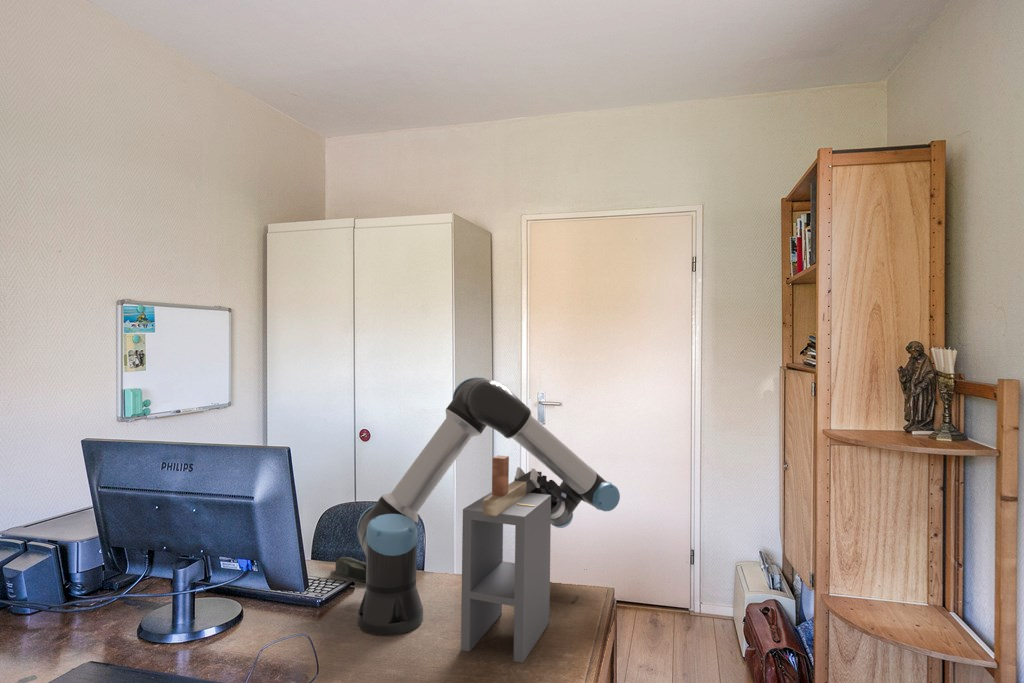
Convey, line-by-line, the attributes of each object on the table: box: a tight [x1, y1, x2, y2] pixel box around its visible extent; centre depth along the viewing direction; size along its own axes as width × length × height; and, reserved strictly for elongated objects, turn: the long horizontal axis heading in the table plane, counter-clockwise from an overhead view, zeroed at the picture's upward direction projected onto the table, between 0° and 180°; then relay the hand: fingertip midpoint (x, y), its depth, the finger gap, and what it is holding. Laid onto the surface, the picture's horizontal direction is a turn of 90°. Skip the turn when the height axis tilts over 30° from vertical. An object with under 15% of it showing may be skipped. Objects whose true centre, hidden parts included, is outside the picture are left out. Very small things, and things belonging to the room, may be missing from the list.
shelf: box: [460, 491, 552, 664], centre depth 133 cm, size 14×19×30 cm
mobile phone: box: [330, 556, 366, 584], centre depth 165 cm, size 5×3×15 cm
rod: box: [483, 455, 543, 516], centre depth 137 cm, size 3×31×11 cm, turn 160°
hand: (524, 473), depth 143 cm, fingers closed on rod, 3 cm apart
